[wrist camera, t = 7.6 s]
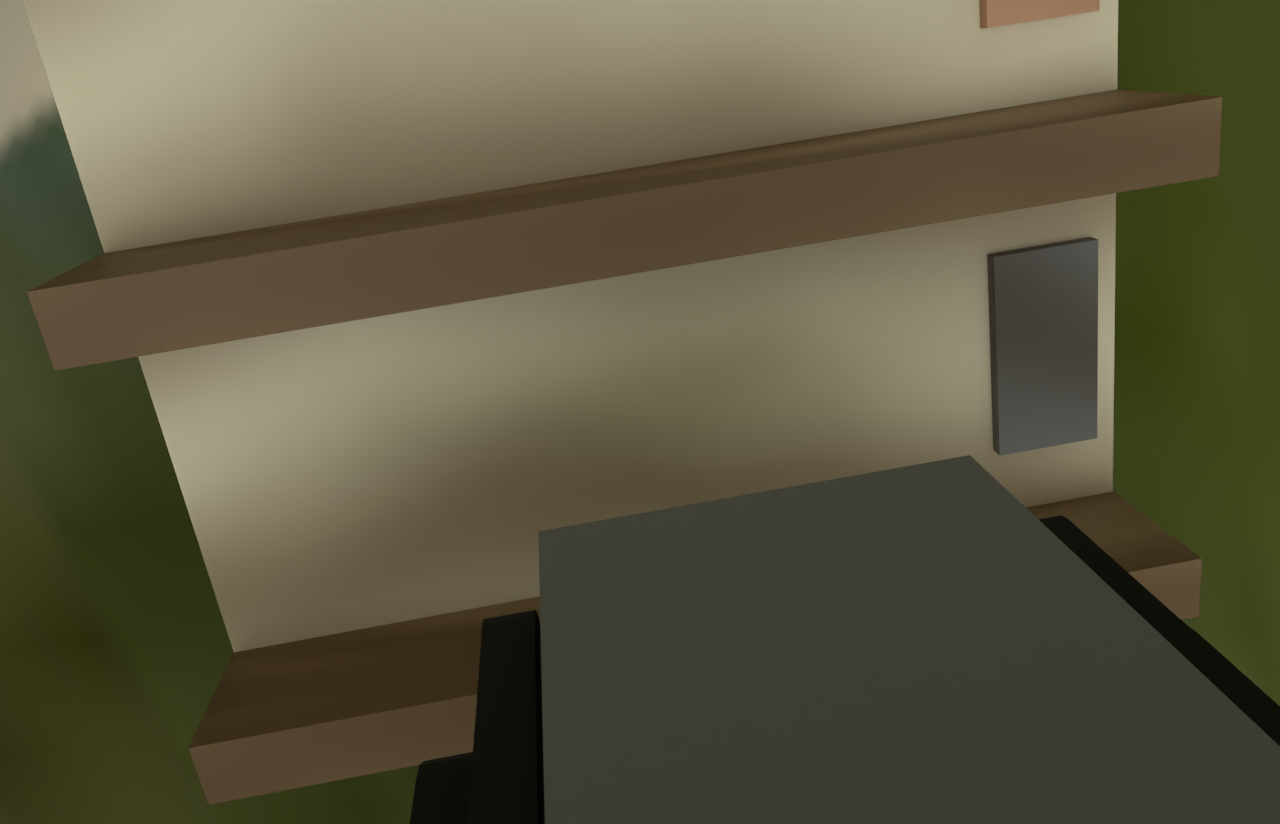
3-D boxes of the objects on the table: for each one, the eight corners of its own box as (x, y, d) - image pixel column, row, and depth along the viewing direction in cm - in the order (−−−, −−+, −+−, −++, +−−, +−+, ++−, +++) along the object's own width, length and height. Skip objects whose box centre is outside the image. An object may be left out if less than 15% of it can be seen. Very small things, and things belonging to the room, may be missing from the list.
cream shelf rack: (1076, 529, 23) (1198, 634, 19) (272, 677, 23) (215, 823, 18) (1074, -439, 17) (1252, -594, 13) (-31, -291, 16) (-222, -408, 12)
